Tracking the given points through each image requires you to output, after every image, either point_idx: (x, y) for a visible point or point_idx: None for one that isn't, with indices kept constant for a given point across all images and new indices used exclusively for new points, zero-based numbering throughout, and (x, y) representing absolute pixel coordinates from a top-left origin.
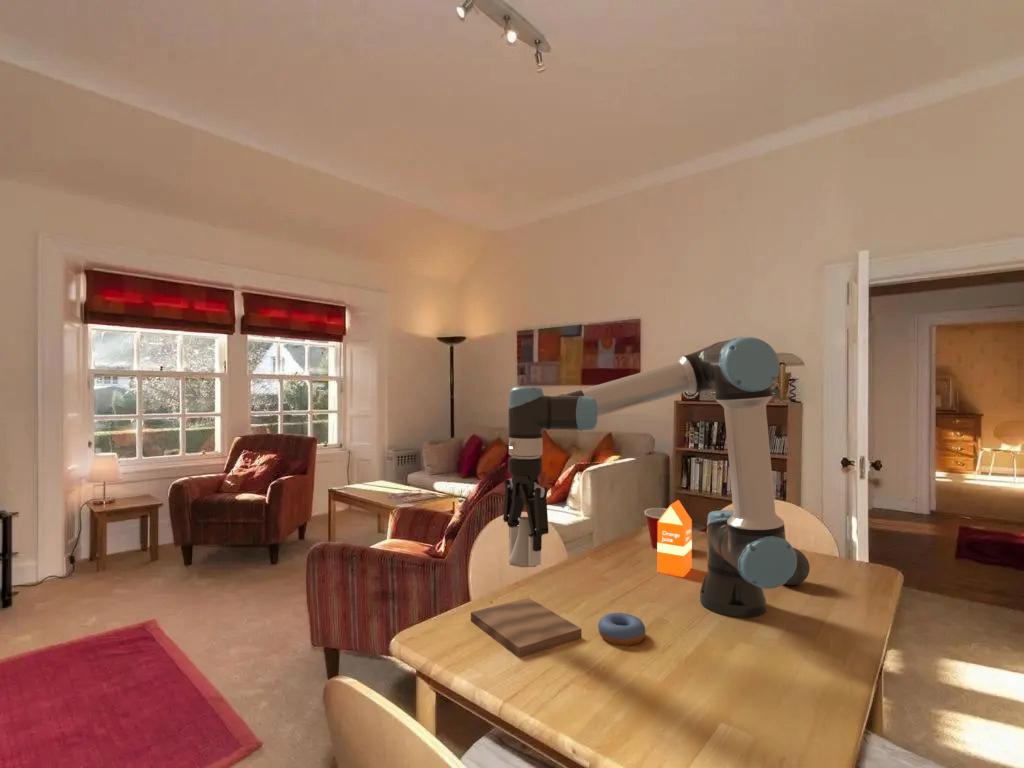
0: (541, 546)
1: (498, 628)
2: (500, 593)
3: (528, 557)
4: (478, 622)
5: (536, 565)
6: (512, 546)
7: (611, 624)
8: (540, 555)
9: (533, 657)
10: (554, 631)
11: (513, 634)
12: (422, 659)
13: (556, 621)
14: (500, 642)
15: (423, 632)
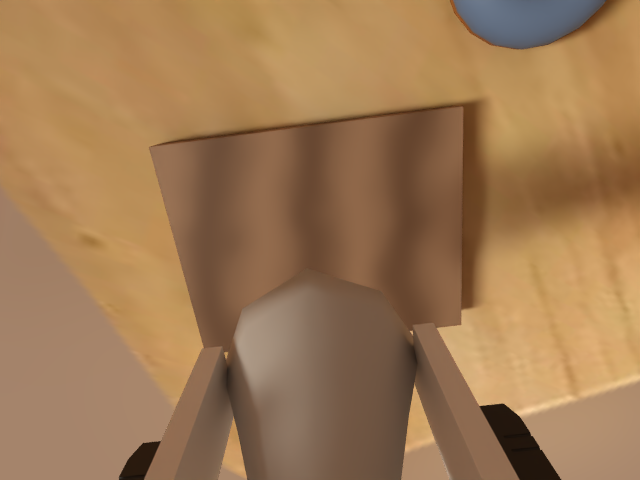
0: (528, 430)
1: None
2: (19, 184)
3: (428, 420)
4: None
5: (409, 332)
6: (221, 448)
7: (560, 12)
8: (452, 359)
9: (469, 280)
10: (432, 198)
11: None
12: None
13: (375, 155)
14: None
15: (235, 441)
